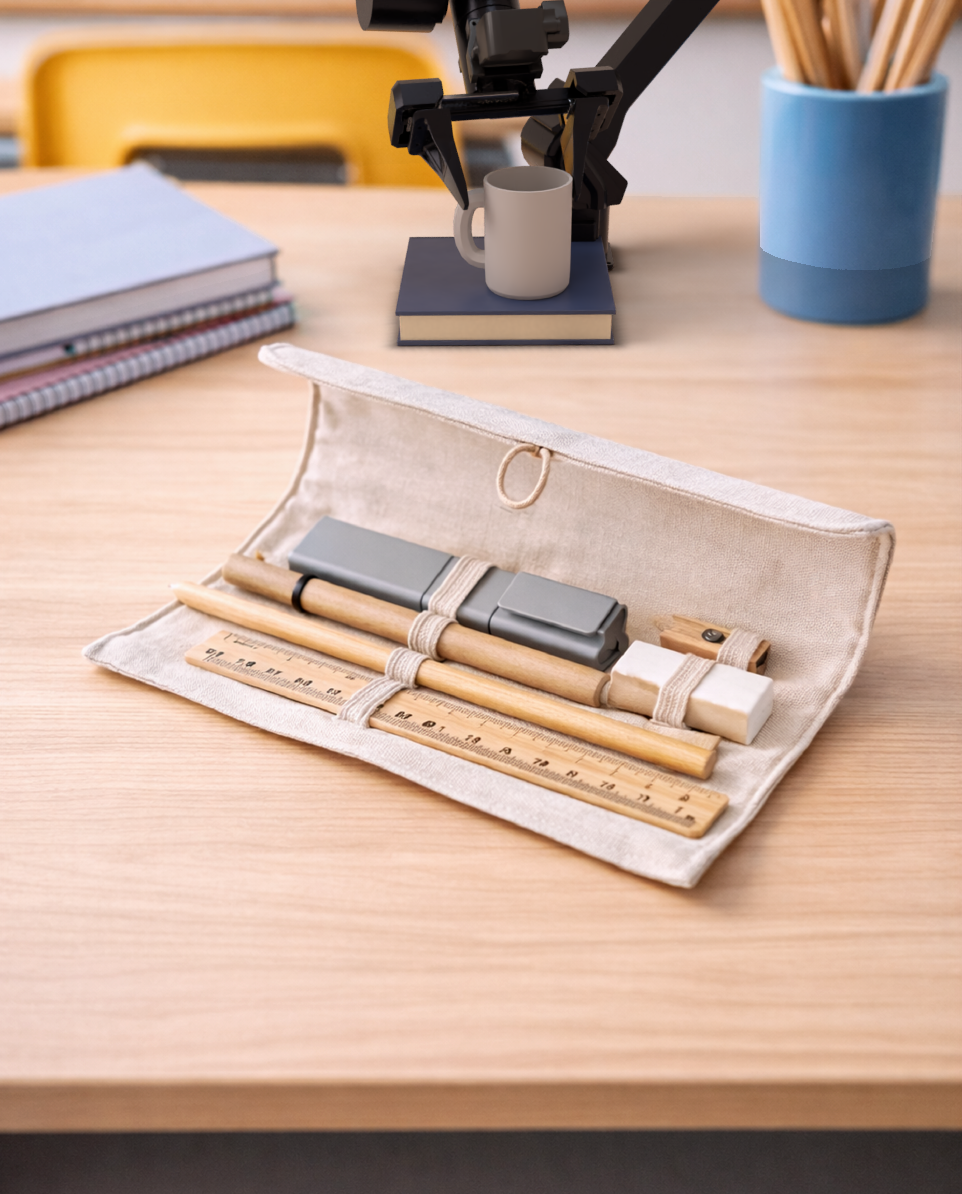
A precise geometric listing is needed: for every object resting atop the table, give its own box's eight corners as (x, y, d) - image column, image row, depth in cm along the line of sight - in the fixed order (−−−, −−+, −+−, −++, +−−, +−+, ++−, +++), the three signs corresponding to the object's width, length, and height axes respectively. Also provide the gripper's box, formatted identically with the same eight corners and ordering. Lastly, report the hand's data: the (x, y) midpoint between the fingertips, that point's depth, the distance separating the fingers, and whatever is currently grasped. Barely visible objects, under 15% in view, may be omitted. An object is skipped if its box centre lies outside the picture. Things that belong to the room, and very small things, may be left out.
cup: (561, 304, 98) (564, 194, 93) (444, 295, 100) (440, 188, 95) (576, 272, 104) (579, 168, 98) (465, 265, 106) (462, 162, 100)
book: (410, 267, 114) (409, 236, 112) (599, 266, 113) (601, 235, 112) (397, 345, 99) (395, 311, 97) (614, 344, 99) (615, 310, 97)
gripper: (384, -34, 89) (418, 159, 87) (622, -46, 92) (661, 139, 90) (374, 58, 100) (404, 231, 97) (588, 44, 103) (622, 211, 101)
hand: (522, 202), depth 96 cm, fingers open, 9 cm apart
